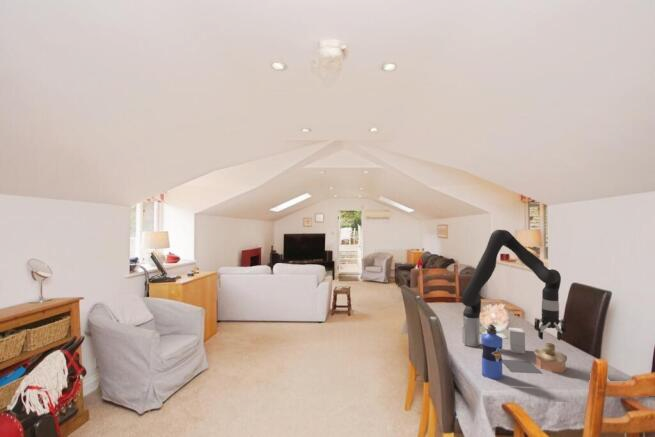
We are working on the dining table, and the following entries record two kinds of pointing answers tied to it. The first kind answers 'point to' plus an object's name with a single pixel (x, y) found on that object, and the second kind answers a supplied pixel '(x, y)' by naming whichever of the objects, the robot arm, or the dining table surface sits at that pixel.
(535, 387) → the dining table surface
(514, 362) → the mat
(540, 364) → the bowl
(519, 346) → the supplement box
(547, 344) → the lid
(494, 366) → the water bottle
